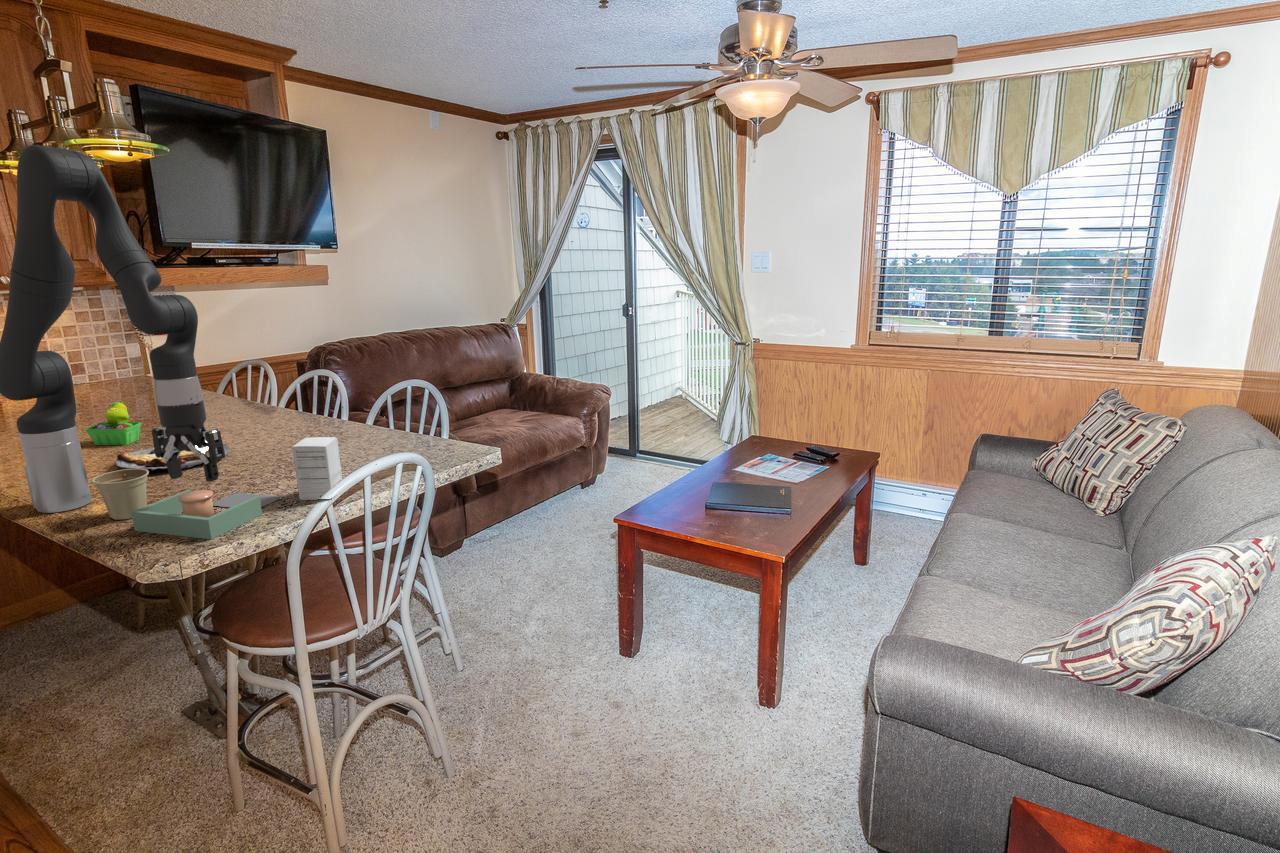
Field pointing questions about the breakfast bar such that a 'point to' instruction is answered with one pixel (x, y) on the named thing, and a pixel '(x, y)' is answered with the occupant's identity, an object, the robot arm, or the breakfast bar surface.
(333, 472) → the supplement box
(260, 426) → the breakfast bar surface
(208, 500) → the tan round knob
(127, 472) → the flower pot
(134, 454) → the food plate
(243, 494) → the slate mat
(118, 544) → the breakfast bar surface
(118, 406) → the fruit basket
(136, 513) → the green u-shaped frame
